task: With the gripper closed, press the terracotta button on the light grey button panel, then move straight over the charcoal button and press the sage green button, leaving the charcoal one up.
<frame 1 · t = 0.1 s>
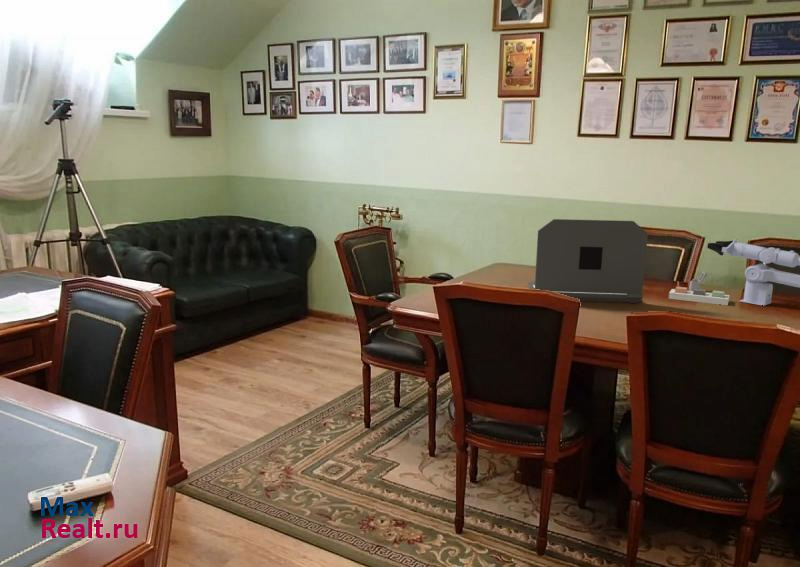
hand: (711, 244, 263), 22 cm above the table, tool horizontal, fingers open, 7 cm apart
sage button: (718, 295, 252), point 3 cm above the table, slide at 0.0 cm
button panel: (698, 299, 256), on the table
laptop: (580, 294, 265), on the table
terracotta button: (680, 291, 259), point 3 cm above the table, slide at 0.0 cm
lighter: (696, 290, 274), on the table
charcoal button: (699, 293, 256), point 3 cm above the table, slide at 0.0 cm
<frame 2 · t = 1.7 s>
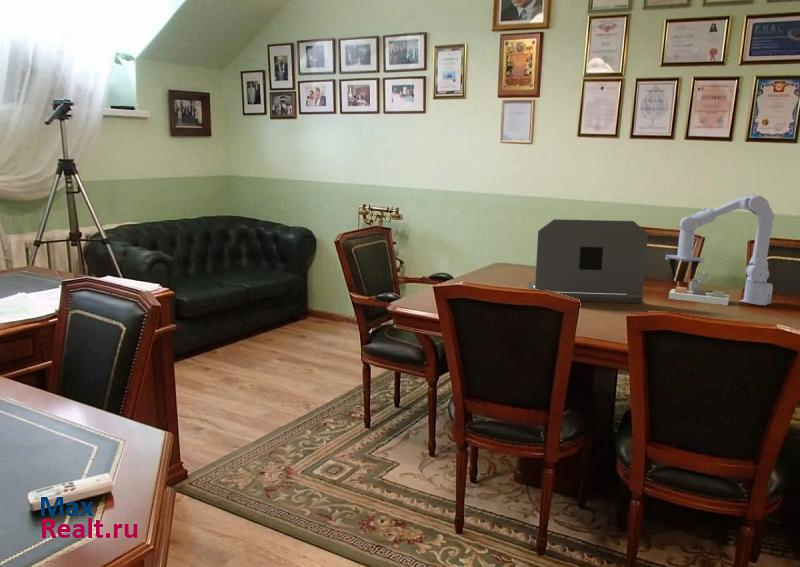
hand: (682, 278, 258), 8 cm above the table, tool pointing down, fingers open, 6 cm apart
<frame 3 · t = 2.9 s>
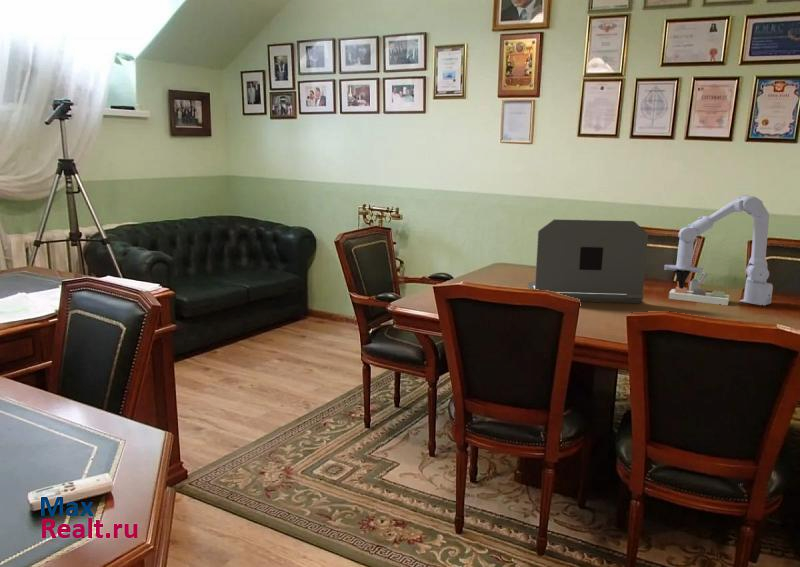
hand: (681, 288, 259), 4 cm above the table, tool pointing down, fingers closed, pressing on terracotta button
terracotta button: (680, 291, 259), point 3 cm above the table, slide at 0.0 cm, touching gripper
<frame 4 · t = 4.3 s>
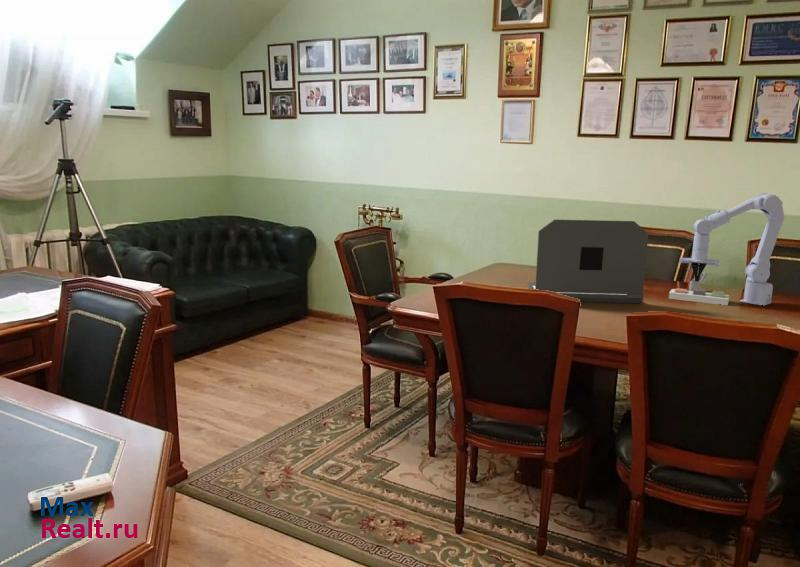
hand: (697, 281, 255), 8 cm above the table, tool pointing down, fingers closed
terracotta button: (680, 293, 259), point 2 cm above the table, slide at 0.7 cm
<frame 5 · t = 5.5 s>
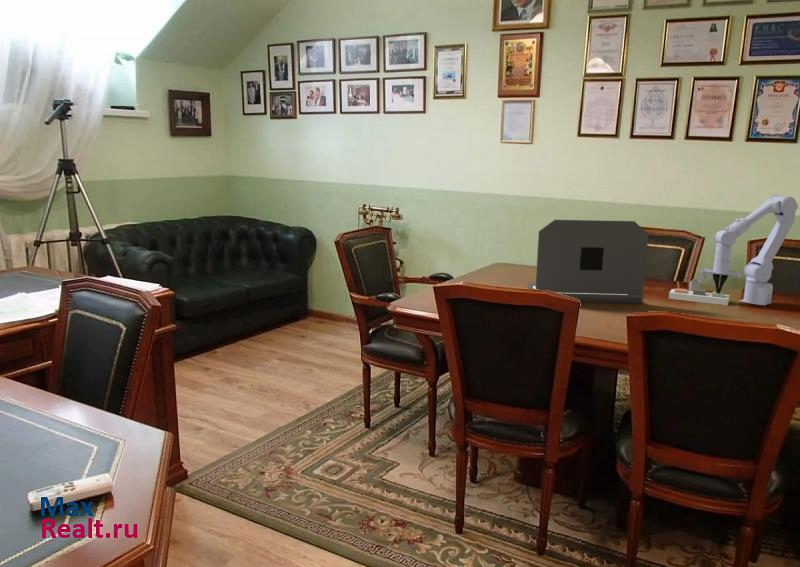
hand: (718, 292, 252), 4 cm above the table, tool pointing down, fingers closed, pressing on sage button
sage button: (717, 296, 252), point 2 cm above the table, slide at 0.4 cm, touching gripper
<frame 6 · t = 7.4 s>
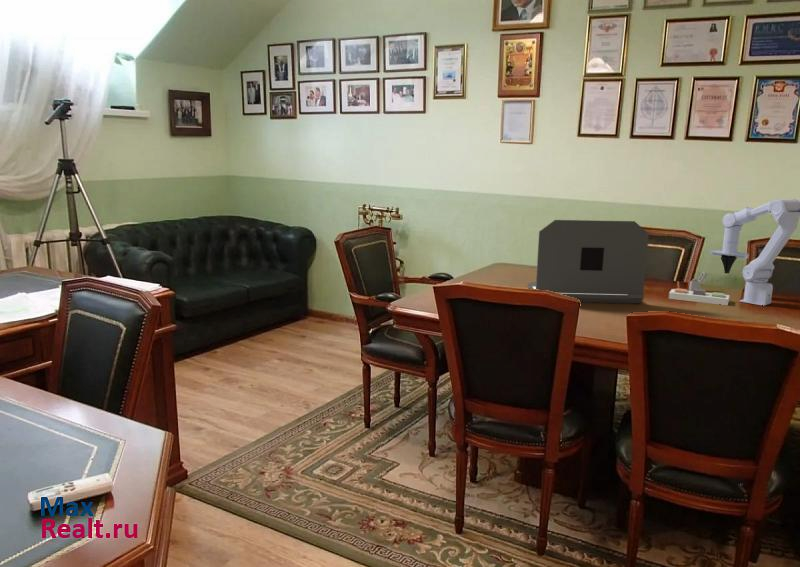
hand: (726, 273, 265), 9 cm above the table, tool pointing down, fingers closed
sage button: (717, 297, 252), point 2 cm above the table, slide at 0.7 cm
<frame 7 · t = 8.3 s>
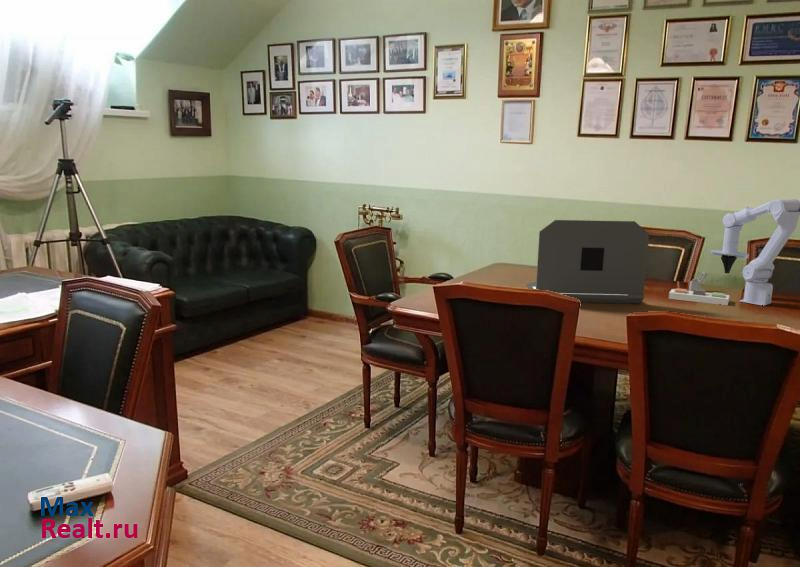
hand: (727, 273, 265), 9 cm above the table, tool pointing down, fingers closed
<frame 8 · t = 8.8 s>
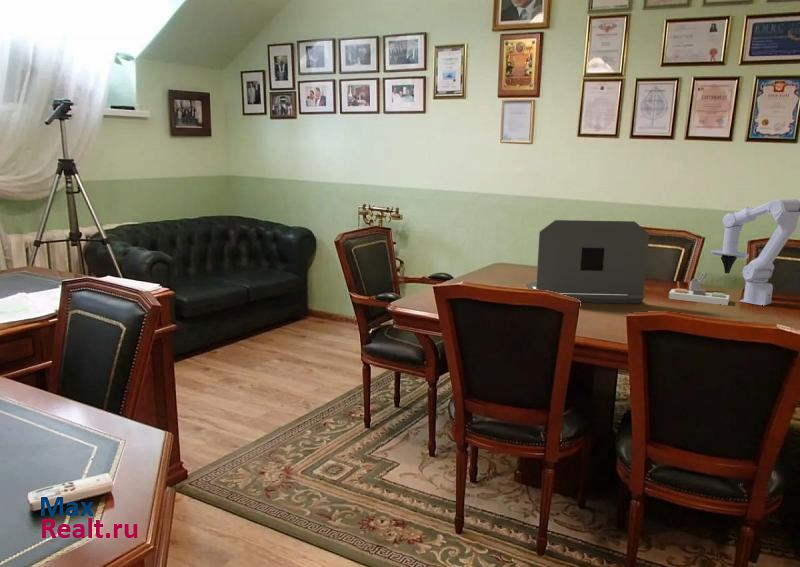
hand: (727, 273, 265), 9 cm above the table, tool pointing down, fingers closed
at the end: terracotta button slide at 0.7 cm; sage button slide at 0.7 cm; charcoal button slide at 0.0 cm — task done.
